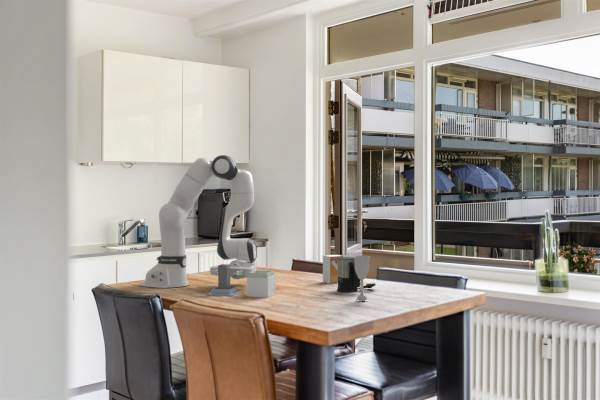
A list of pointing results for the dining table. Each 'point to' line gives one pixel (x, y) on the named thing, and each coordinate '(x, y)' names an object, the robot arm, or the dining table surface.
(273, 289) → the block
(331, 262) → the small box
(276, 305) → the dining table surface
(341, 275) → the milk frother
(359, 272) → the chalice
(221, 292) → the floor socket
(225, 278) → the plug block
